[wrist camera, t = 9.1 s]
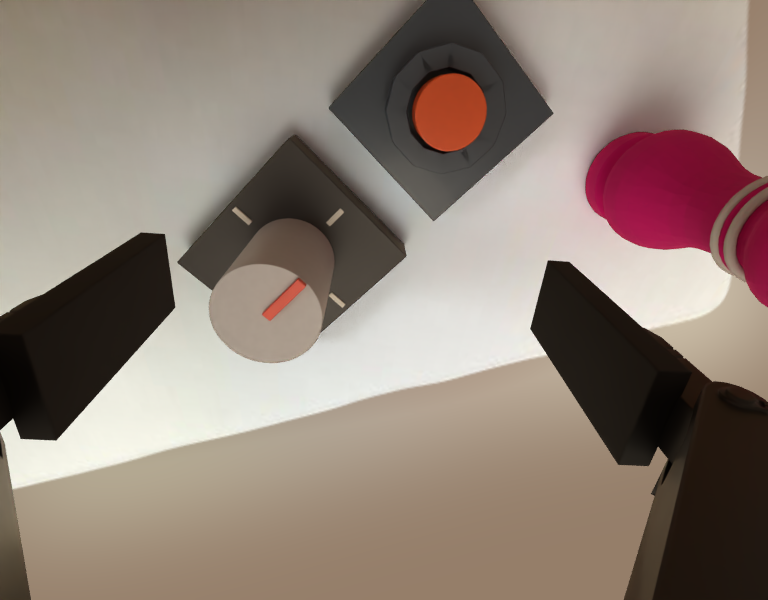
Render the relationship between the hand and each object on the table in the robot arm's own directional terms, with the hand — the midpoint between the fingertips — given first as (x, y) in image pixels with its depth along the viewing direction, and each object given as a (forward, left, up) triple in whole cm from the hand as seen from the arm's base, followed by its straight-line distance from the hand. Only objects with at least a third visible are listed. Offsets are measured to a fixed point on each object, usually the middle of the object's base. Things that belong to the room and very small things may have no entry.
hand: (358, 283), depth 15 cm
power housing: (+7, 0, -18) cm, 19 cm away
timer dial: (-7, 0, -15) cm, 17 cm away
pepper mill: (+14, -13, -18) cm, 26 cm away
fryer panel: (-7, 0, -18) cm, 19 cm away
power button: (+7, 0, -14) cm, 16 cm away
